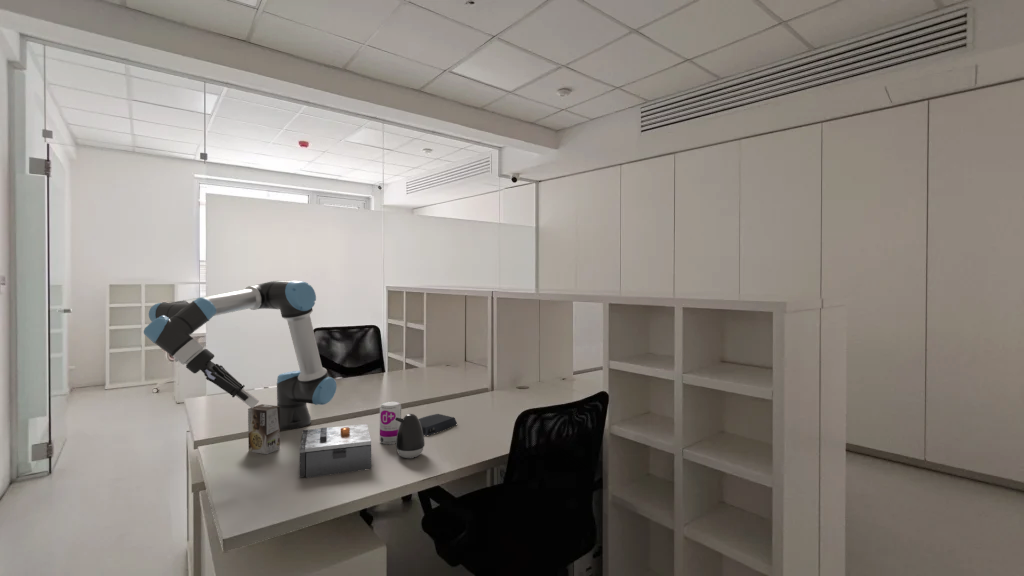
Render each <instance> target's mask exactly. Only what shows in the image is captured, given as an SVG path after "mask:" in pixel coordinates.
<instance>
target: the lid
mask: <svg viewBox="0 0 1024 576" xmlns="http://www.w3.org/2000/svg"><path fill="white" fill-rule="evenodd" d="M363 445H371V446H372V438H371V435H370V430H369V426H368V423H364V424H363V423H361V424H350V425H341V426H334V427H333V426H331V427H321V428H313V429H312V428H311V429H310V428H309V429H303V430H302V435H301V440H300V445H299V478H303V477H305V478H306V452H311V451H320V450H328V449H337V448H346V447H354V446H363Z"/></svg>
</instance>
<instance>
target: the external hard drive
mask: <svg viewBox="0 0 1024 576" xmlns="http://www.w3.org/2000/svg"><path fill="white" fill-rule="evenodd" d="M418 419H419V421H420V424H421V426H422V429H423V434H424V435H425V436H424V437H428V436H427V435H429V436H432V435H435V434H438V433H440V431H441V432H443V430H444V431H446V430H448V428H449V429H451V428H453V427H455V426H457V425H458V423H457V420H456V417H454V416H449V415H445V414H440V413H435V414H430V415H426V416H423V417H420V418H418ZM456 424H457V425H456ZM454 425H455V426H454ZM452 426H453V427H452ZM450 427H451V428H450ZM445 429H446V430H445ZM437 432H438V433H437ZM434 433H435V434H434ZM431 434H432V435H431Z"/></svg>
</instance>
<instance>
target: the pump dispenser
mask: <svg viewBox="0 0 1024 576" xmlns="http://www.w3.org/2000/svg"><path fill="white" fill-rule="evenodd" d="M419 419H420V418H418V416H417V415H416V414H414V413H407V414H406V415H404V417H403V418H402V417H401V418H397V417H396V419H395V420H396V421H399V422H401V424H400V426H399V429H398V433H397V438H396V444H395V448H396V452H397V453H398V455H399V456H400V457H401V458H404V459H414V457H415V458H416V457H419V456H420V455H421V454H422V452H423V451H424V447H425V444H426V443H425V436H424V434H423V429H422V426H421V424H420V421H419Z"/></svg>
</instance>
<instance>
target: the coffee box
mask: <svg viewBox="0 0 1024 576" xmlns="http://www.w3.org/2000/svg"><path fill="white" fill-rule="evenodd" d="M247 415H248V416H247V423H248V424H247V427H248V429H247V430H248V431H247V433H248V452H249V453H256V454H263V455H268V454H271V453H274V452H276V451H278V450H279V451H280V449H281V434H280V433H281V429H280V406H277V405H272V404H270V405H269V404H258V405H255V406H254V407H253V408H251V407H249V408H248V409H247Z"/></svg>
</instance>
